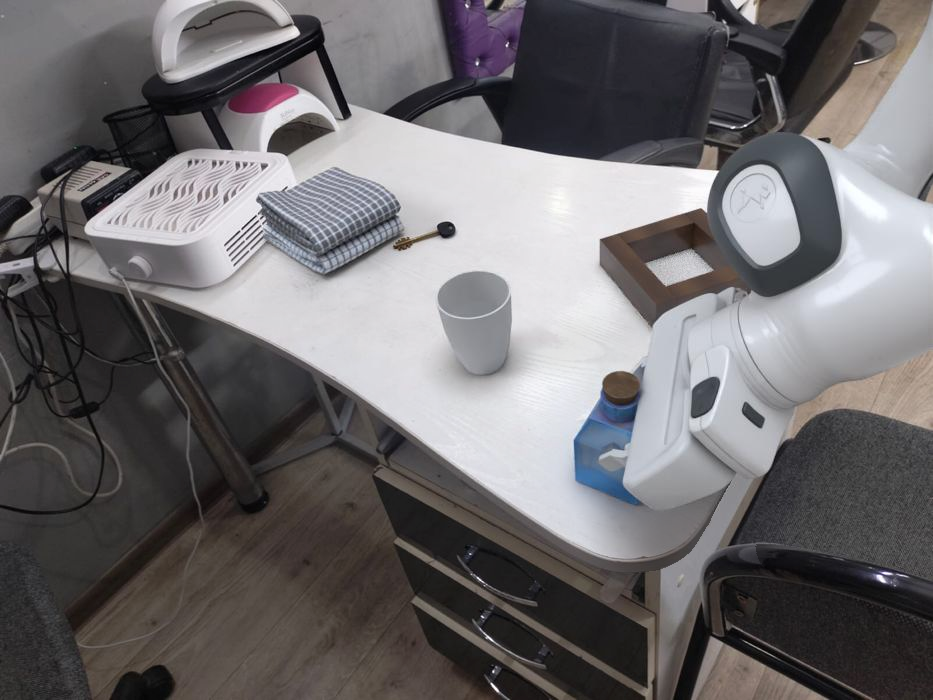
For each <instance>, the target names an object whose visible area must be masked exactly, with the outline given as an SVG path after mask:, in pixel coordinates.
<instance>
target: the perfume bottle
mask: <svg viewBox="0 0 933 700" xmlns="http://www.w3.org/2000/svg"><path fill="white" fill-rule="evenodd" d="M629 372H630V371H625V370H616V371H612V372H610V373H608V374H606V375H605V376H604V378H603V379H602V382H601V388H600V397H599V398H598V400H597V402H596V404H595V405H594V407H592V410H591V412H590V413H589V414H588V417H587V418H586V419H585V421H584V422H583V425H582V426H581V427H580V428H579V431H578V432H577V434H576V435H575V438H574V439H573V458H574V459H573V460H574V481H576V482H578V483H581V484H583V485H585V486H588V487H591V488H593V489H595V490H597V491H599V492H603V493H604V494H608V495H610V496H611V497H612V496H613V497H614V498H617V499H619V500H622V501H625V502H627V503H628V504H631V505H634V506H638V504H639V502H640V501H639V500H638V499H637V498H636V497H635V496H633V495H632V494H631V493H630V492H629V491H628V490H627V489H626V488H625V487H624V485H623V477H624V472H625V467H623V468H621V469H618V470H616V471H608V470H607V469H605V468H604V467H603V466H602V465H600V464H599V462H598V461H599V456H600V452H601V449H602V447H604V446H607V445H608V444H610V443H612V442H615V443H616V444H617V445H618V446H619V447H620V449H623V450H625V445H626V444H628V443H630V442H631V437H632V432H633V426H634V421H635V416H636V411H637V406H638V401H639V396H640V389H639V388H640V382H639V380H638V378H637V377H636V376H635V375H634V374H631V373H629Z"/></svg>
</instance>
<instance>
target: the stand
mask: <svg viewBox="0 0 933 700" xmlns="http://www.w3.org/2000/svg"><path fill="white" fill-rule="evenodd" d="M689 249H692V250H693V251H694V252H695V253H696V254H697V255H698V256H699V257H700V258H701V259H702V260H703V261H705V262H706V264H708V265H709V266H710V267H711V268H712V269H713V270H711V271H708V272H705V273H702V274H700V275H697V276H693V277H690V278H687V279H684V280H680V281H677V282H675V283H671V284H667V285H665V284H664V283H663V282H662V281H661V279H660V278H659V277H658V276H657V275H656V274H655V273H654V272H653V271H652V270H651V269H650V267H649V266H648V265H647V264H646V263H648V262H651V261H655V260H659V259H661V258H664V257H667V256H670V255H674V254H677V253H680V252H683V251H687V250H689ZM599 265H600V267H601V268H602V269H603V270H604V271H605V273H606V274H607V275H608V276H609V277H610V279H611V280H612V281H613V282H614V284H616V286H617V287H618V288H619V290H620V291H621V292H622V293H623V295H624V296H625V297H626V298H627V299H628V300H629V302H630V303H631V304H632V305H633V307H634V308H635V310H637V311H638V312H639V314H640V315H641V316H642V318H643V319H644V320H645V321H646V323H648V325H649V326H650V327H651V328H652V329H653V325H654V323H655V322H656V321H657V320H658V319H659V318H660V317H661V316H662V315H663V314H664V313H666V312H667V311H669V310H671V309H673V308H675V307H677V306H679V305H681V304H683V303H685V302H687V301H689V300H692V299H694V298H696V297H699V296H701V295H704V294H708V293H714V294H716V295H717V294H719V293H720V292H722V291H724V290H725V289H727V288H730V287H734V288H740V289H742V290H743V291H745V292H747V294H748V295H749V294H750V293H751V289H750V288H749V287H748V286H747V285H746V284H745V283H744V282H743V280H742V279H741V278H740V277H739V275H738V274H737V273H736V272H735V270H734V269H733V267H732V266H731V264H730V263H729V262H728V260H727V259H726V257H725V256H724V254H723V253H722V251H721V249H720V248H719V246H718V245H717V243H716V241H715V240H714V238H713V236H712V234H711V231H710V228H709V224H708V218H707V211H706V210H705V209H703V208H702V207H700V208H696V209H694V210H693V209H692V210H689V211H687V212H682V213H680V214H676V215H673V216H670V217H667V218H663V219H661V220H657V221H654V222H650V223H647V224H644V225H641V226H638V227H637V226H636V227H635V228H631V229H627V230H625V231H622V232H618V233H614V234H611V235H608V236H605V237H602V238H599Z"/></svg>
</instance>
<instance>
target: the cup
mask: <svg viewBox="0 0 933 700" xmlns="http://www.w3.org/2000/svg"><path fill="white" fill-rule="evenodd" d="M511 289H512V288H511V285H510V283H509V281H508V280H507V279H506V278H505V277H504V276H503V275H501V274H499V273H497V272H494V271H490V270H483V269H482V270H481V269H475V270H467V271H463V272H459V273H457V274H455V275H452V276H451V277H449V278H448V279H446V280H445V281H444V282H443V283H442V284H440V285H439V287H438V289H437V290H436V294H435V304H436V307H437V310H438V314H439V317H440V320H441V324H442V328H443V330H444V333H445V335H446V337H447V340H448V343H449V344H450V347H451V349H452V351H453V353H454V355H455V357H456V359H458V361H459V362H460V364H461V365H462V366H463V368H464V369H465V370H466V371H467V372H469V373H470V374H472V375H476V376H477V375H478V376H485V375H490V374H493V373H495V372H497V371H498V370H500V369H501V368H502V367H503V365H504V364H505V361H506V358H507V355H508V352H509V348H510V345H511V344H510V343H511V335H512V323H513V312H512V311H513V310H512V309H513V308H512V290H511Z"/></svg>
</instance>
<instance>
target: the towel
mask: <svg viewBox="0 0 933 700" xmlns="http://www.w3.org/2000/svg"><path fill="white" fill-rule="evenodd" d="M255 201H256V203H257V204H259V205H260V206H261V208H260V210H259V211H258V213H259V214H260V215H261V216H262V217H264V218H265V222H266V223H265V225H264V226H263V227H262V230H263V232H262V235H263V236H262V238H263V239H264V240H265V241H266V242H267V243H269V244H271V245H272V246H273V247H276V249H279V250H280V251H281V252H283V253H284V254H285V255H287V256H288V257H289V258H291V259H293V260H294V261H297V262H298V263H299V264H301V265H302V266H305V267H306V268H308V269H310V270H311V271H313V272H314V273H317V274H321V275H326V274H328V273H330V272H332V271H334V270H336V269H338V268H341V267H342V266H344V265H346V264H348V263H349V262H352V261H354V260H355V259H356V258H358V257H360V256H362V255H363V254H365V253H367V252H368V251H370V250H373V249H374V248H375V247H378V246H379V245H381V244H383V243H384V242H386V241H389V240H391V239H392V238H394V237H396V236H397V235H398V234H401V233H402V232H404V231H405V227H404V225H403V222H402V218H401V217H400V215H398V213H399V212H400V211H401V208H402V206H401V204H400V202H399V201H398V200H397V198H396V196H395V194H393V193H392V192H391V191H390V190H389V189H387V188H386V187H385V186H383V185H382V184H380V183H378V182H376V181H373V180H370V179H367V178H365V177H361V176H357V175H356V174H355V175H354V174H352V173H350V172H348V171H345V170H343V169H341V168H339V167H337V166H333V167H330V168H329V169H327V170H323V172H320V173H317V174H316V175H314V176H312V177H310V178H308V179H306V180H305V181H302V182H300V183H299V184H298V185H295V186H293V187H292V188H289V189H287V190H272V191H266V192H259V193H258V195H257V197H256V198H255Z"/></svg>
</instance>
